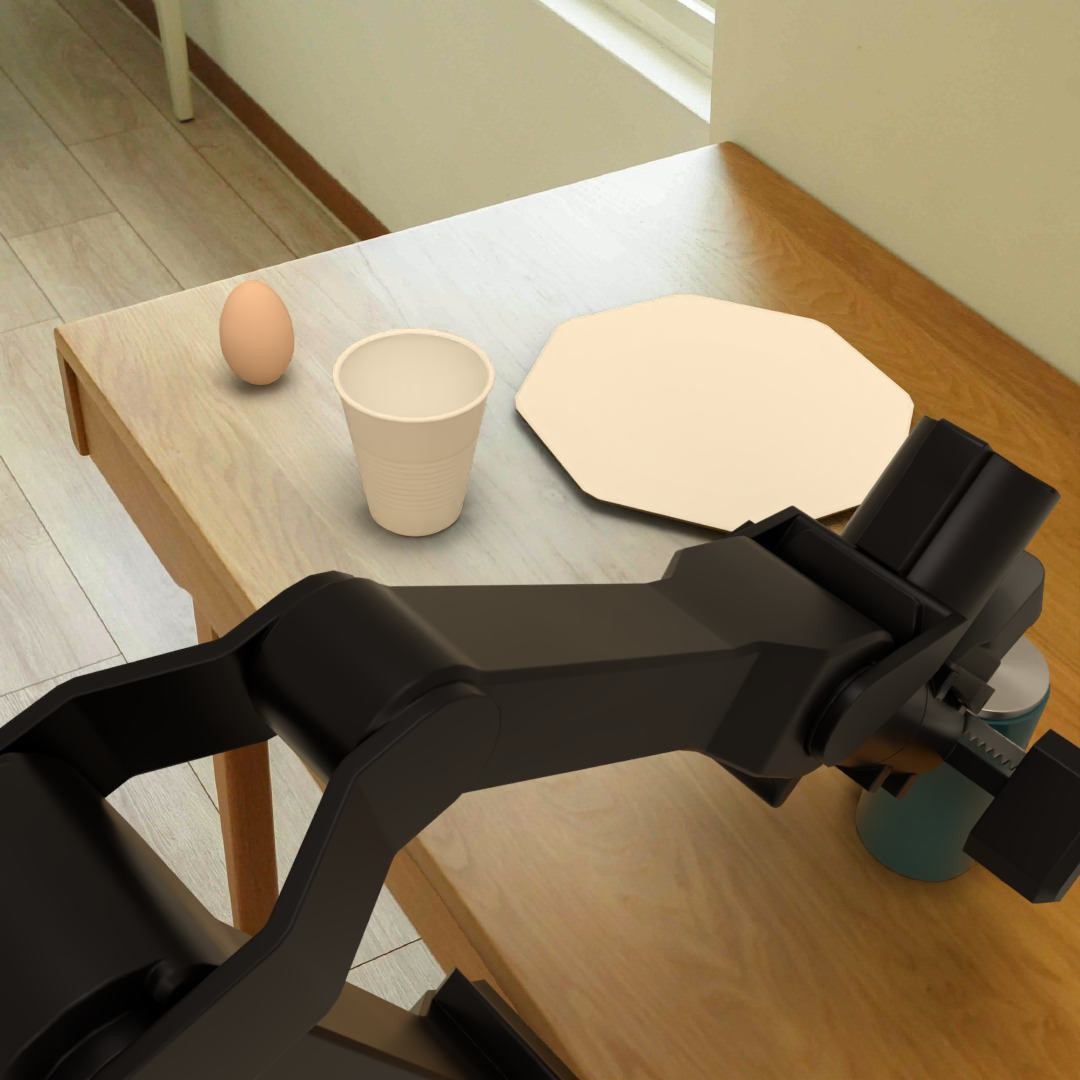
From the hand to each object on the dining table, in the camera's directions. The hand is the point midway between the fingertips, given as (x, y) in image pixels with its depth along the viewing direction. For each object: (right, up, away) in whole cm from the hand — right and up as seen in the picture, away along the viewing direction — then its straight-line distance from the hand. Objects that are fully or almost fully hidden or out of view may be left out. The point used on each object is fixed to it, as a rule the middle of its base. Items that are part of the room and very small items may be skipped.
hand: (946, 734), depth 66 cm
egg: (-40, +21, +34) cm, 57 cm away
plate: (-7, +18, +33) cm, 39 cm away
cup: (-28, +11, +24) cm, 38 cm away
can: (0, -6, +6) cm, 9 cm away
